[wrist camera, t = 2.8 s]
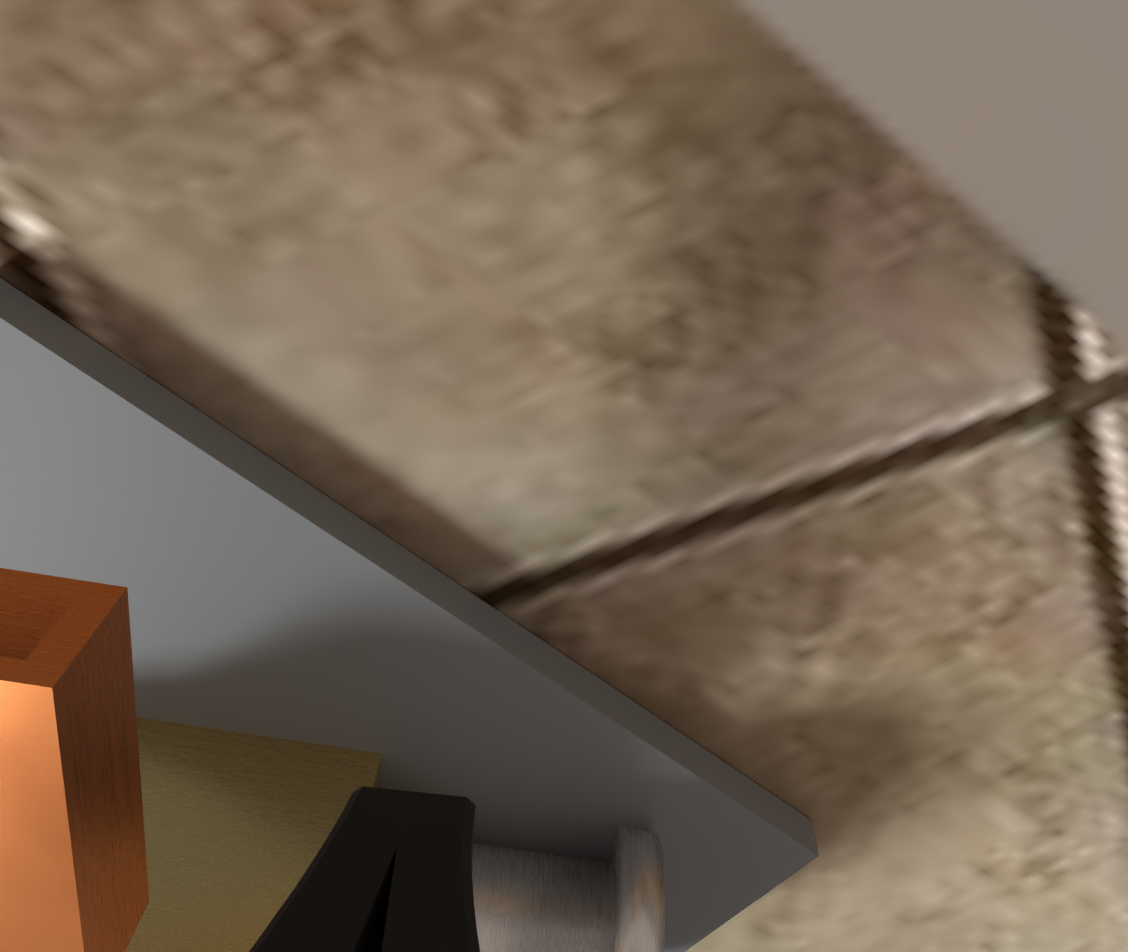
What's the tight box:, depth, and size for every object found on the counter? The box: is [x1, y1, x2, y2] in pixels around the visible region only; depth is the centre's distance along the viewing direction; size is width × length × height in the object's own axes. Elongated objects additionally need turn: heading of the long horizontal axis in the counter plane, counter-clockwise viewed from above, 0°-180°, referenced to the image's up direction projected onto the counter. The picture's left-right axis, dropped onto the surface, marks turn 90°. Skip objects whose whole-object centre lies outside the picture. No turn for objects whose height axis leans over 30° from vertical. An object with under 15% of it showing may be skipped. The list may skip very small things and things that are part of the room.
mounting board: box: [0, 278, 819, 952], centre depth 23 cm, size 20×16×1 cm
